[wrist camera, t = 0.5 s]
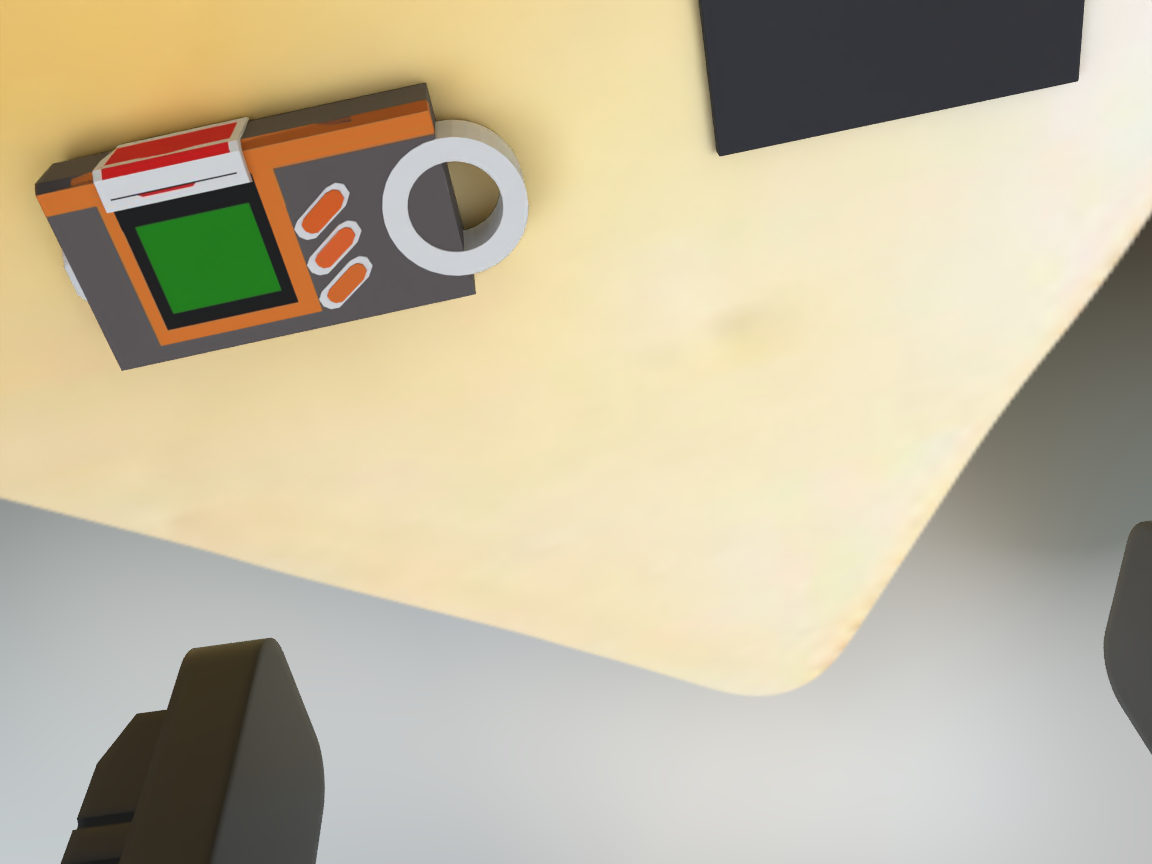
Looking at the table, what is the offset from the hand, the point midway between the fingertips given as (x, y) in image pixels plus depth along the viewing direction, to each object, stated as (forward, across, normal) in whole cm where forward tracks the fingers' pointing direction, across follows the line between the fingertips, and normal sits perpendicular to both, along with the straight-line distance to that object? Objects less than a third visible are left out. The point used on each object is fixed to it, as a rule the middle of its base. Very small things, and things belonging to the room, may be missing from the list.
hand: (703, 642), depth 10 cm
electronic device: (+28, +9, +6) cm, 30 cm away
